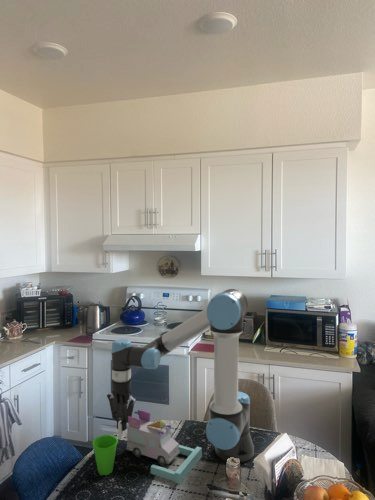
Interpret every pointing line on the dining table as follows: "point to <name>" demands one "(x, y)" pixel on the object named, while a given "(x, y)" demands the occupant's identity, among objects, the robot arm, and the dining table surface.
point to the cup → (105, 453)
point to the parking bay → (184, 469)
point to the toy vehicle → (151, 438)
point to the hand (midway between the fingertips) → (121, 437)
